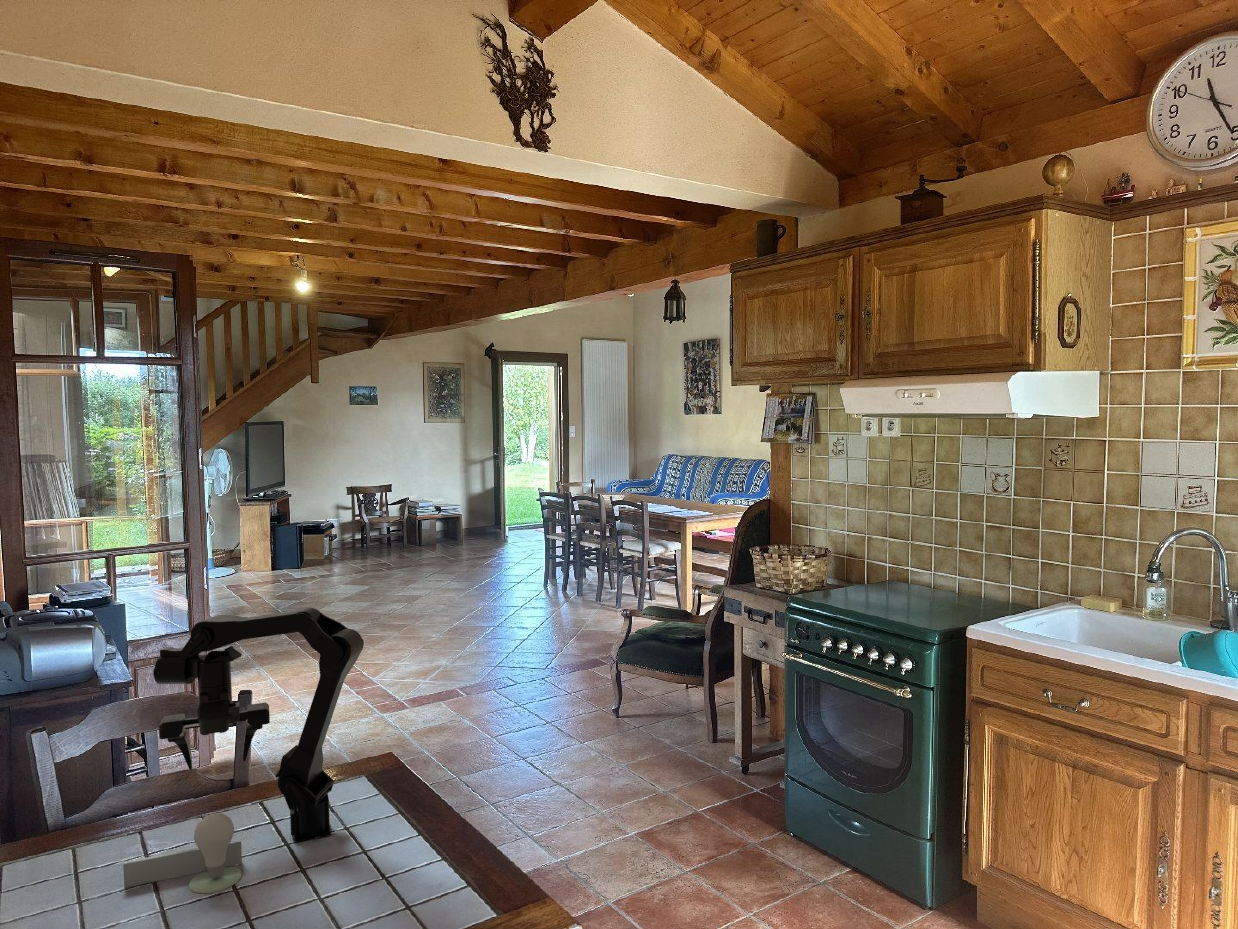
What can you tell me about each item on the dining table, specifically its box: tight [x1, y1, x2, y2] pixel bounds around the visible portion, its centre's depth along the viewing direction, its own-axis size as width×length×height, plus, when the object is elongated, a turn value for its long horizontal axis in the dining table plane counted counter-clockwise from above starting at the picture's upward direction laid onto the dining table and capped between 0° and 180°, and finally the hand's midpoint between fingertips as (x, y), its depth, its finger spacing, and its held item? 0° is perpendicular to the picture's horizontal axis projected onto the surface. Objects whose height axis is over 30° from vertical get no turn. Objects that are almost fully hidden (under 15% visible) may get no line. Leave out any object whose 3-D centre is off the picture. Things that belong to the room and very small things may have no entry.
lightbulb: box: [193, 812, 235, 879], centre depth 142 cm, size 6×6×11 cm
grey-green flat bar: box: [122, 839, 243, 889], centre depth 145 cm, size 18×1×4 cm, turn 113°
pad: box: [188, 866, 242, 894], centre depth 142 cm, size 8×8×1 cm
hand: (218, 764), depth 160 cm, fingers open, 9 cm apart
